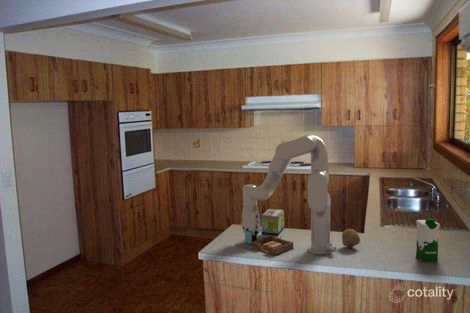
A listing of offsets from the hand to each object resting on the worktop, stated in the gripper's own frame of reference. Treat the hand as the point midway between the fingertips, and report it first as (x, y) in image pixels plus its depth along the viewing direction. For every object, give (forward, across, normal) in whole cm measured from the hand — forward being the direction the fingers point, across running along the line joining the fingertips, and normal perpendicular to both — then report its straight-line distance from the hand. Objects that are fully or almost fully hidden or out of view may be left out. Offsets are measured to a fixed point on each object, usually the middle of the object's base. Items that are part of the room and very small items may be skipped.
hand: (251, 240), depth 220 cm
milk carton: (+3, -76, -42) cm, 87 cm away
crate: (+2, -13, -3) cm, 13 cm away
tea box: (+3, -1, -17) cm, 17 cm away
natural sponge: (+3, -42, -31) cm, 52 cm away
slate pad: (+2, 0, 0) cm, 2 cm away
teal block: (+1, 0, 0) cm, 1 cm away
